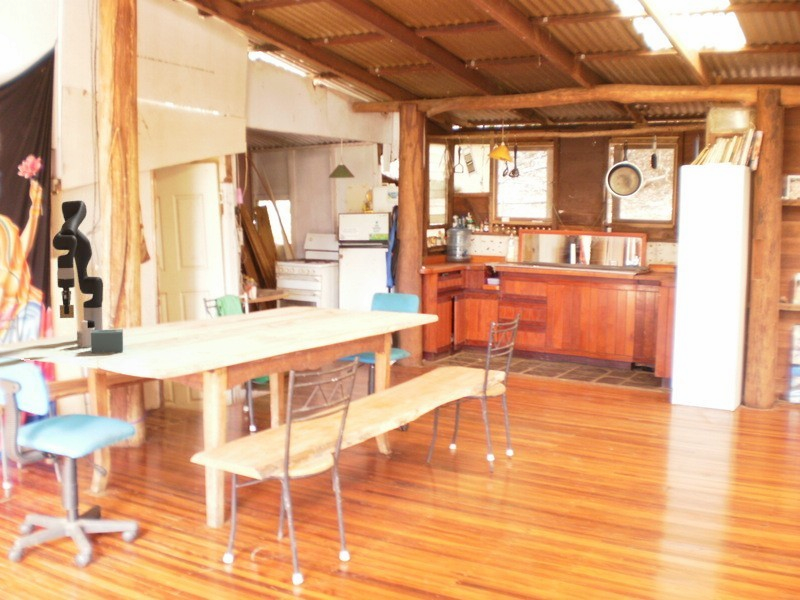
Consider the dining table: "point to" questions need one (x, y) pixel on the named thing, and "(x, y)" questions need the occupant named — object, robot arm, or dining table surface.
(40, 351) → the dining table surface
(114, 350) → the coin box
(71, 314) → the block
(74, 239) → the robot arm
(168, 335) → the dining table surface
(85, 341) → the container
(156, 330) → the dining table surface
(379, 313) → the dining table surface
